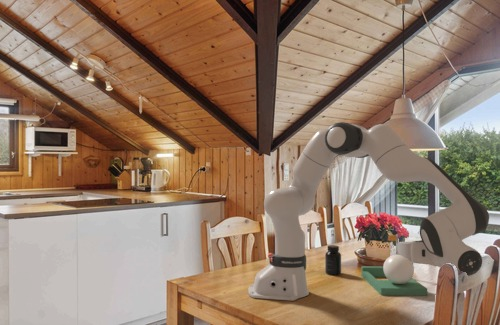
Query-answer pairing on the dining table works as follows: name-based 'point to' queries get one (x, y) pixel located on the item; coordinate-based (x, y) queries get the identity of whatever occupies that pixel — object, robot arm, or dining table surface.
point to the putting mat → (387, 286)
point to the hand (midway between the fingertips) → (420, 244)
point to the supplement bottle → (333, 260)
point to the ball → (398, 269)
